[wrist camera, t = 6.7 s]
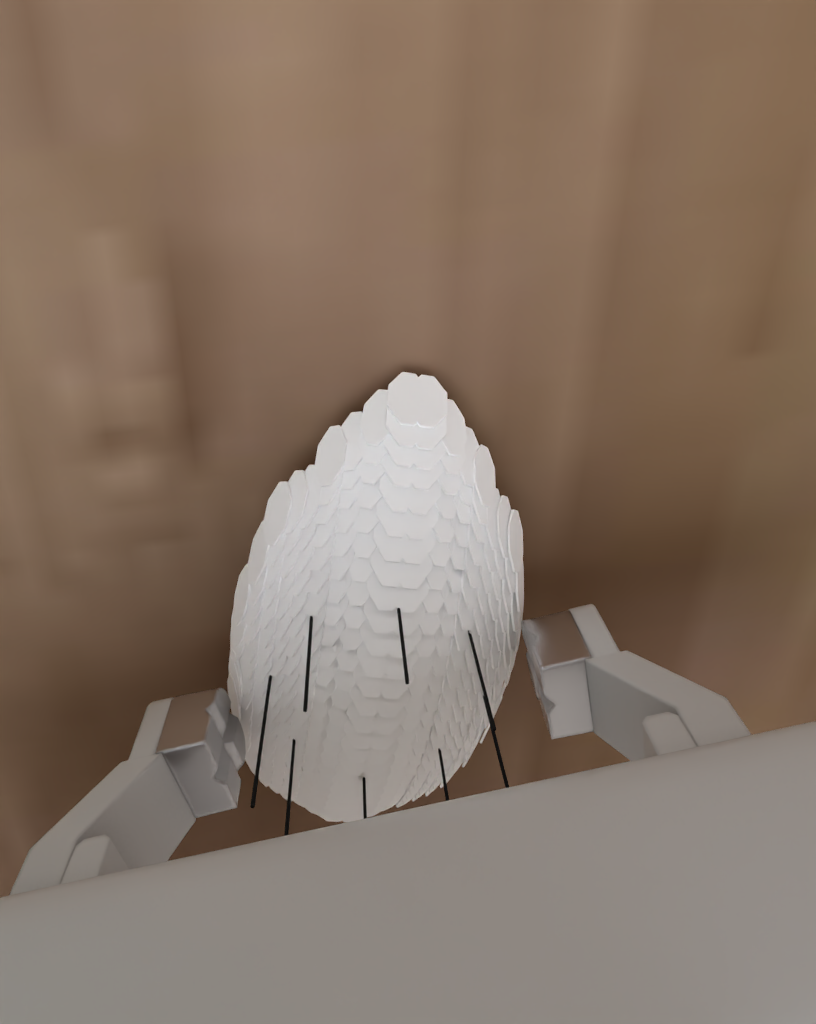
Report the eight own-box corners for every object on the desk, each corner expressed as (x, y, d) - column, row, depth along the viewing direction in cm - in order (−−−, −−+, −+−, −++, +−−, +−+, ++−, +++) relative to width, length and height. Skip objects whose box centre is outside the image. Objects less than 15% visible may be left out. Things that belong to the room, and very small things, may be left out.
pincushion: (447, 806, 20) (482, 1031, 15) (222, 793, 19) (178, 1027, 14) (564, 391, 15) (679, 520, 10) (260, 345, 14) (212, 462, 9)
